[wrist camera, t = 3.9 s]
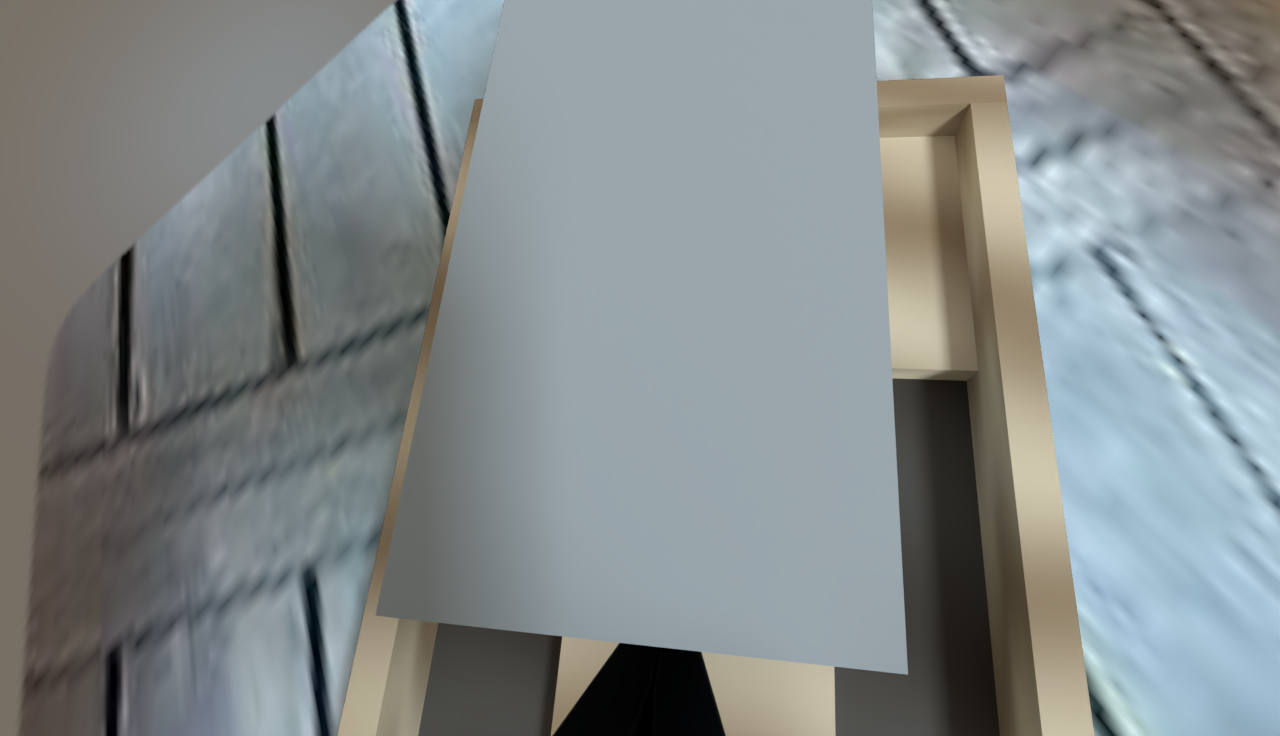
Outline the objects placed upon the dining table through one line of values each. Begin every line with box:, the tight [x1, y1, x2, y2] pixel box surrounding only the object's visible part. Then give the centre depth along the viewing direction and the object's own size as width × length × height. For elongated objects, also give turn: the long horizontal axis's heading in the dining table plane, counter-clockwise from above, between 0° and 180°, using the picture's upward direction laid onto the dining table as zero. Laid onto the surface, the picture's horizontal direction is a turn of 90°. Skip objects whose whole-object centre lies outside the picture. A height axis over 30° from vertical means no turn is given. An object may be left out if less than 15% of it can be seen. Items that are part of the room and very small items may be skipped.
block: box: [375, 0, 908, 675], centre depth 12 cm, size 10×5×11 cm, turn 175°
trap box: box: [337, 75, 1094, 736], centre depth 16 cm, size 30×17×2 cm, turn 175°
